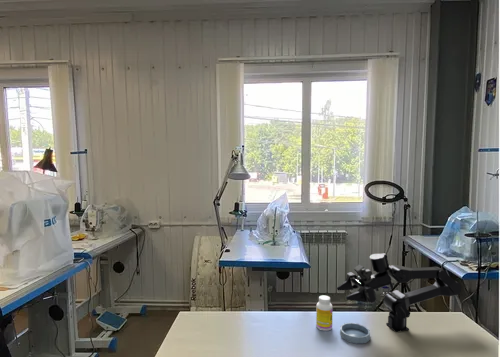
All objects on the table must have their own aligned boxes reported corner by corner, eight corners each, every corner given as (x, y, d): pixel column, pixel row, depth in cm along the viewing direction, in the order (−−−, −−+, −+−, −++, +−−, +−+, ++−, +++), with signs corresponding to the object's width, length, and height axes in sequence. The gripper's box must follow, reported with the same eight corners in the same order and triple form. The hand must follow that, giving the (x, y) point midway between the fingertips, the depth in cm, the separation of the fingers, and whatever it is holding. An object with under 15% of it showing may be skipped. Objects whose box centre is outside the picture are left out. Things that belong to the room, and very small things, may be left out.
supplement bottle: (332, 332, 134) (333, 301, 133) (316, 330, 135) (316, 300, 134) (331, 324, 140) (332, 294, 140) (316, 322, 142) (316, 293, 141)
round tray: (359, 327, 138) (359, 321, 137) (375, 341, 127) (375, 335, 127) (335, 330, 135) (335, 324, 135) (349, 345, 124) (349, 339, 124)
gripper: (360, 256, 143) (328, 267, 142) (383, 270, 125) (346, 283, 123) (367, 279, 144) (334, 291, 143) (390, 297, 126) (353, 311, 124)
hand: (341, 293), depth 133 cm, fingers open, 9 cm apart
